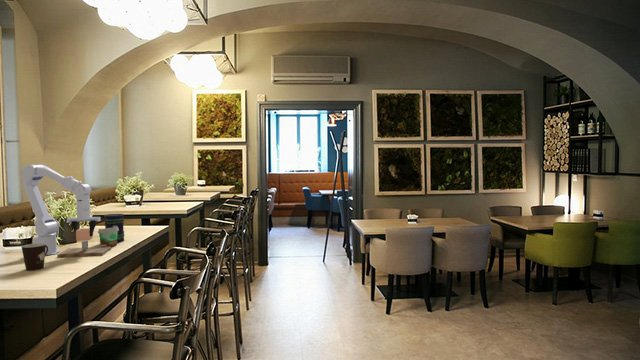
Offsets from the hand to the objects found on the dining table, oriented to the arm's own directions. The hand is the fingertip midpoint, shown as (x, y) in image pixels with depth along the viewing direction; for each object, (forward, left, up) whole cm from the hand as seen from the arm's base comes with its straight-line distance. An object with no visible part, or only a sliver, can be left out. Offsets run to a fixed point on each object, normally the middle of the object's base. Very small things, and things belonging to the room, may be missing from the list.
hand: (84, 236), depth 218 cm
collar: (0, 0, -2) cm, 2 cm away
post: (0, 0, -7) cm, 7 cm away
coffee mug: (-10, -27, -9) cm, 30 cm away
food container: (+8, +16, -9) cm, 20 cm away
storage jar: (+6, +30, -9) cm, 32 cm away
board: (0, 0, -8) cm, 8 cm away
